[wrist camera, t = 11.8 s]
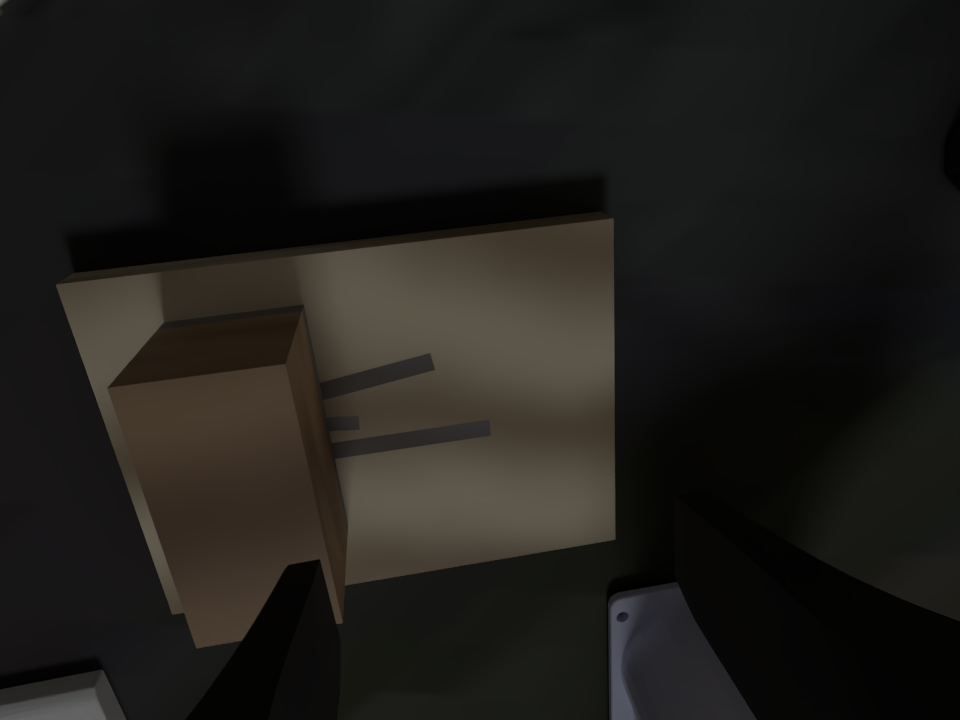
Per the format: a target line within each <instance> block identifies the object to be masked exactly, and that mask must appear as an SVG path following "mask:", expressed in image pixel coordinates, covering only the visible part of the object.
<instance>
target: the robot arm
mask: <svg viewBox="0 0 960 720" xmlns="http://www.w3.org/2000/svg"><path fill="white" fill-rule="evenodd" d="M674 576H675V578H676V581H677V582H674V583H668V584H663V585H657V586H651V587H646V588H640V589H635V590H629V591H623V592H618V593H616V594H614V595H613V596H611V598H610V599H609V601H608V652H609V720H960V621H957V620H954V619H952V618H949V617H946V616H944V615H941V614H938V613H936V612H933V611H930V610H928V609H925V608H922V607H920V606H917V605H915V604H912V603H910V602H907V601H905V600H902V599H900V598H898V597H896V596H893V595H891V594H889V593H887V592H884V591H882V590H880V589H878V588H875V587H873V586H871V585H869V584H867V583H864V582H862V581H860V580H858V579H856V578H854V577H852V576H850V575H848V574H846V573H844V572H842V571H840V570H838V569H836V568H834V567H832V566H830V565H829V564H827V563H825V562H823V561H821V560H819V559H817V558H815V557H813V556H812V555H810V554H808V553H806V552H805V551H803V550H801V549H799V548H797V547H796V546H794V545H792V544H791V543H789V542H787V541H785V540H784V539H782V538H780V537H779V536H777V535H775V534H774V533H772V532H770V531H769V530H767V529H765V528H764V527H762V526H760V525H759V524H757V523H756V522H754V521H752V520H751V519H749V518H748V517H746V516H744V515H743V514H741V513H740V512H738V511H736V510H735V509H733V508H732V507H730V506H728V505H727V504H725V503H724V502H722V501H720V500H719V499H717V498H716V497H714V496H712V495H710V494H709V493H707V492H705V491H698V492H693V493H687V494H682V495H676V496H675V535H674ZM622 612H624V613H623V614H620V615H618V614H619V613H622ZM339 694H340V637H339V633H338V629H337V625H336V621H335V617H334V613H333V609H332V605H331V601H330V597H329V593H328V589H327V585H326V581H325V577H324V573H323V569H322V565H321V561H320V559H318V560H312V561H306V562H301V563H295V564H290V565H288V566H287V567H286V568H285V570H284V571H283V573H282V575H281V576H280V578H279V580H278V582H277V583H276V585H275V587H274V589H273V590H272V592H271V594H270V596H269V597H268V599H267V601H266V603H265V604H264V606H263V608H262V609H261V611H260V613H259V614H258V616H257V618H256V619H255V621H254V622H253V624H252V626H251V627H250V629H249V630H248V632H247V633H246V635H245V637H244V638H243V640H242V641H241V643H240V644H239V646H238V648H237V649H236V651H235V652H234V654H233V655H232V657H231V658H230V660H229V661H228V662H227V664H226V665H225V667H224V668H223V669H222V671H221V672H220V674H219V675H218V677H217V678H216V679H215V681H214V682H213V684H212V685H211V686H210V688H209V689H208V691H207V692H206V693H205V695H204V696H203V697H202V699H201V700H200V701H199V702H198V704H197V705H196V706H195V708H194V709H193V710H192V712H191V713H190V714H189V715H188V717H187V718H186V719H185V720H337V713H338V704H339Z"/></svg>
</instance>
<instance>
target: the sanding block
mask: <svg viewBox="0 0 960 720" xmlns="http://www.w3.org/2000/svg"><path fill="white" fill-rule="evenodd" d="M107 389H108V392H109V395H110V398H111V401H112V404H113V407H114V410H115V412H116V415H117V418H118V421H119V424H120V427H121V430H122V433H123V436H124V439H125V442H126V444H127V447H128V450H129V453H130V456H131V459H132V462H133V465H134V468H135V471H136V474H137V477H138V479H139V482H140V485H141V488H142V491H143V494H144V497H145V500H146V503H147V506H148V509H149V511H150V514H151V517H152V520H153V523H154V526H155V529H156V532H157V535H158V538H159V541H160V543H161V546H162V549H163V552H164V555H165V558H166V561H167V564H168V567H169V570H170V573H171V576H172V578H173V581H174V584H175V587H176V590H177V593H178V596H179V599H180V602H181V605H182V608H183V610H184V613H185V616H186V619H187V622H188V625H189V628H190V631H191V634H192V637H193V640H194V642H195V645H196V648H201V647H207V646H213V645H219V644H224V643H230V642H236V641H242V640H243V638H244V637H245V635H246V633H247V632H248V630H249V629H250V627H251V626H252V624H253V622H254V621H255V619H256V618H257V616H258V614H259V613H260V611H261V609H262V608H263V606H264V604H265V603H266V601H267V599H268V597H269V596H270V594H271V592H272V590H273V589H274V587H275V585H276V583H277V582H278V580H279V578H280V576H281V575H282V573H283V571H284V570H285V568H286V567H287V566H288V565H290V564H295V563H301V562H306V561H312V560H318V559H320V561H321V565H322V569H323V573H324V577H325V581H326V585H327V589H328V593H329V597H330V601H331V605H332V609H333V613H334V617H335V621H336V624H339V623H343V608H344V590H345V573H346V555H347V537H348V522H347V517H346V512H345V507H344V502H343V497H342V492H341V487H340V482H339V477H338V472H337V467H336V462H335V457H334V452H333V447H332V442H331V437H330V432H329V427H328V422H327V417H326V413H325V408H324V403H323V398H322V393H321V388H320V383H319V378H318V373H317V368H316V363H315V358H314V353H313V348H312V343H311V338H310V333H309V328H308V323H307V318H306V313H305V308H304V305H298V306H290V307H282V308H274V309H266V310H258V311H250V312H242V313H234V314H226V315H218V316H210V317H202V318H195V319H187V320H179V321H171V322H164V323H163V324H162V325H161V326H160V327H159V329H158V330H157V331H156V332H155V333H154V334H153V336H152V337H151V338H150V339H149V340H148V341H147V342H146V344H145V345H144V346H143V347H142V348H141V349H140V351H139V352H138V353H137V354H136V355H135V356H134V357H133V359H132V360H131V361H130V362H129V363H128V364H127V366H126V367H125V368H124V369H123V370H122V371H121V372H120V374H119V375H118V376H117V377H116V378H115V379H114V381H113V382H112V383H111V384H110V385H109V386H108V387H107Z"/></svg>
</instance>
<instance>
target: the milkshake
mask: <svg viewBox="0 0 960 720" xmlns="http://www.w3.org/2000/svg"><path fill="white" fill-rule="evenodd" d="M945 174H946V175H947V176H948V178H949V179H950V180H951V181H952V182H953V184H954V185H955V186H956V187H957V189H958V190H959V191H960V120H959V122H958V124H957V126H956V127H955V129H954V131H953V132H952V134H951V136H950V137H949V139H948V141H947V142H946V162H945Z"/></svg>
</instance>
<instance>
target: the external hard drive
mask: <svg viewBox="0 0 960 720" xmlns="http://www.w3.org/2000/svg"><path fill="white" fill-rule="evenodd" d="M0 720H126V718H125V716H124V713H123V711H122V709H121V707H120V705H119V703H118V701H117V699H116V697H115V694H114V692H113V690H112V688H111V686H110V684H109V682H108V680H107V678H106V675H105V673H104V671H103V670H96V671H91V672H86V673H81V674H76V675H71V676H66V677H61V678H56V679H51V680H46V681H41V682H35V683H30V684H25V685H20V686H15V687H10V688H5V689H0Z"/></svg>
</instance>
